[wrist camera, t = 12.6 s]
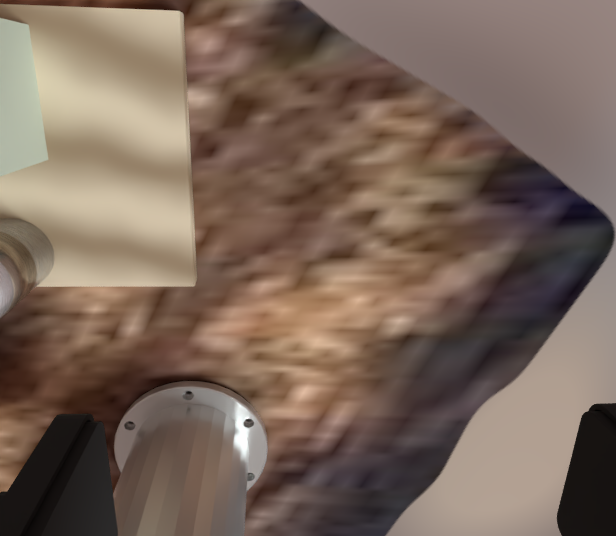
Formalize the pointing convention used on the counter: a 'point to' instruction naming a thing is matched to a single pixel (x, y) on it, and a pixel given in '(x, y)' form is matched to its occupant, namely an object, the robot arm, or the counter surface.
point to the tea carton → (19, 101)
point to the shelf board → (109, 147)
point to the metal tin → (22, 260)
